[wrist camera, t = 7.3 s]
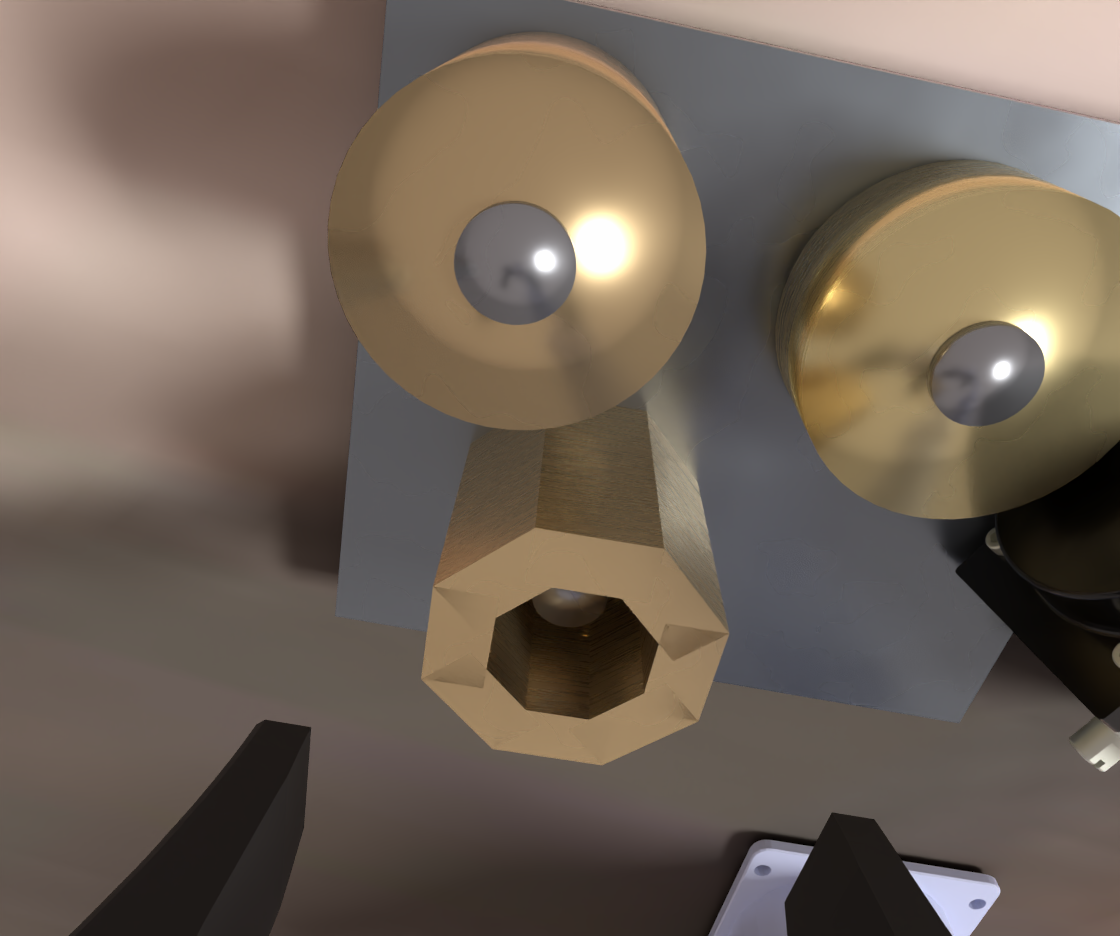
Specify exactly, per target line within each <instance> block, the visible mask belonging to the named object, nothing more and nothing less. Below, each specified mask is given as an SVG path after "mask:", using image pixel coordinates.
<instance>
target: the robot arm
mask: <svg viewBox="0 0 1120 936" xmlns="http://www.w3.org/2000/svg"><path fill="white" fill-rule="evenodd" d="M310 735H311V727H306V726H300V725H294V724H288V723H282V722H276V721H269V720H264V721H262V722H260V723H258V724H257V725H256V726H255V727H254V729H253V730H252V731H251V733H250V734H249V736H248V737H247V738H246V740H245V741H244V743H243V744H242V745H241V746H240V748H239V749H238V750H237V752H236V753H235V754H234V756H233V757H232V758H231V760H230V761H229V762H228V763H227V765H226V766H225V767H224V768H223V770H222V771H221V772H220V773H219V775H218V776H217V777H216V778H215V780H214V781H213V782H212V783H211V784H210V786H209V787H208V788H207V789H206V790H205V792H204V793H203V794H202V795H201V796H200V797H199V799H198V800H197V801H196V802H195V803H194V805H193V806H192V807H191V808H190V809H189V810H188V811H187V813H186V814H185V815H184V816H183V817H182V818H181V819H180V820H179V822H178V823H177V824H176V825H175V826H174V827H173V828H172V829H171V830H170V832H169V833H168V834H167V835H166V836H165V837H164V838H163V839H162V840H161V842H160V843H159V844H158V845H157V846H156V847H155V848H154V849H153V850H152V852H151V853H150V854H149V855H148V856H147V857H146V858H145V859H144V860H143V861H142V862H141V863H140V865H139V866H138V867H137V868H136V869H135V870H134V871H133V872H132V873H131V874H130V875H129V876H128V877H127V878H126V879H125V880H124V881H123V882H122V883H121V884H120V885H119V886H118V887H117V888H116V889H115V890H114V891H113V892H112V893H111V894H110V895H109V896H108V897H107V898H106V899H105V900H104V901H103V902H102V903H101V904H100V905H99V906H98V907H97V908H96V909H95V910H94V911H93V912H92V913H91V914H90V915H89V916H88V917H87V918H86V919H85V920H84V921H83V922H82V923H81V924H80V925H79V926H78V927H77V928H76V929H75V930H74V931H73V932H72V933H71V934H70V935H69V936H269V934H270V931H271V929H272V926H273V924H274V921H275V919H276V916H277V914H278V911H279V909H280V906H281V903H282V900H283V896H284V893H285V890H286V886H287V883H288V880H289V877H290V873H291V870H292V866H293V863H294V860H295V856H296V853H297V849H298V846H299V842H300V839H301V836H302V832H303V829H304V818H305V805H306V791H307V777H308V763H309V749H310ZM999 894H1000V888H999V886H998V884H997V882H996V879H995V878H993V877H992V876H990V875H987V874H982V873H975V872H969V871H963V870H957V869H950V868H944V867H938V866H932V865H925V864H919V863H913V862H906V861H902V860H901V858H900V857H899V855H898V854H897V852H896V851H895V849H894V848H893V846H892V845H891V843H890V842H889V840H888V839H887V837H886V836H885V834H884V833H883V831H882V830H881V829H880V827H879V826H878V824H877V823H876V821H875V820H874V819H869V818H862V817H856V816H850V815H844V814H838V813H831V815H830V817H829V819H828V821H827V823H826V825H825V827H824V829H823V830H822V832H821V834H820V836H819V838H818V840H817V842H816V844H815V845H814V847H813V846H806V845H800V844H794V843H788V842H781V841H775V840H760V841H757V842H755V843H754V844H753V845H752V846H751V847H750V849H749V851H748V853H747V855H746V857H745V859H744V861H743V864H742V866H741V868H740V870H739V872H738V874H737V876H736V878H735V880H734V882H733V885H732V887H731V889H730V891H729V893H728V895H727V897H726V899H725V901H724V904H723V906H722V908H721V910H720V912H719V914H718V916H717V918H716V920H715V922H714V925H713V927H712V929H711V931H710V933H709V935H708V936H970V934H971V933H972V932H973V930H974V929H975V928H976V926H977V925H978V923H979V922H980V921H981V919H982V918H983V917H984V915H985V914H986V912H987V911H988V910H989V908H990V907H991V906H992V904H993V903H994V902H995V900H996V899H997V897H998V896H999Z"/></svg>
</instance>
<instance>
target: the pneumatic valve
mask: <svg viewBox="0 0 1120 936" xmlns="http://www.w3.org/2000/svg"><path fill="white" fill-rule="evenodd" d="M955 572H956V574H957V575H958V576H959V577H960V578H961V579H962V580H963V581H964V582H965V583H966V584H967V585H968V586H969V587H970V588H971V589H972V590H973V591H974V592H975V593H976V594H977V595H978V596H979V597H980V598H981V599H982V600H983V602H984V603H985V604H986V605H987V606H988V607H989V608H990V609H991V610H992V611H993V612H994V613H995V614H996V615H997V616H998V617H999V618H1000V619H1001V620H1002V621H1003V622H1004V623H1005V624H1006V625H1007V626H1008V627H1009V628H1010V629H1011V630H1012V631H1013V632H1014V633H1015V634H1016V635H1017V636H1018V637H1019V638H1020V639H1021V640H1022V641H1023V643H1024V644H1025V645H1026V646H1027V647H1028V648H1029V649H1030V650H1031V651H1032V652H1033V653H1034V654H1035V655H1036V656H1037V657H1038V658H1039V659H1040V660H1041V661H1042V662H1043V663H1044V664H1045V665H1046V666H1047V667H1048V668H1049V669H1050V670H1051V671H1052V672H1053V673H1054V674H1055V675H1056V676H1057V677H1058V678H1059V679H1060V680H1061V681H1062V682H1063V684H1064V685H1065V686H1066V687H1067V688H1068V689H1069V690H1070V691H1071V692H1072V693H1073V694H1074V695H1075V696H1076V697H1077V698H1078V699H1079V700H1080V701H1081V702H1082V703H1083V704H1084V705H1085V706H1086V707H1087V708H1088V709H1089V710H1090V711H1091V712H1092V713H1093V714H1094V715H1095V717H1094V718H1092V719H1091V721H1089V722H1088V723H1087V724H1086V725H1084V726H1083V727H1082V728H1081V729H1079V730H1078V731H1077V732H1076V733H1074V734H1073V735H1072V736H1071V737H1069V742H1070V744H1071V745H1072V746H1073V747H1074V748H1075V749H1076V751H1077V752H1078V753H1079V754H1080V755H1081V756H1082V757H1083V758H1084V759H1085V760H1086V761H1088V762H1089V763H1090V764H1093V765H1094V766H1095V767H1096V768H1097V769H1098V770H1100V771H1103V772H1105V771H1106V770H1107V769H1109V768H1110V767H1111V766H1113V765H1114V764H1115V763H1117V762H1118V761H1119V760H1120V440H1119V441H1118V443H1116V444H1115V445H1114V446H1113V447H1112V448H1111V449H1110V450H1109V451H1108V452H1107V453H1106V454H1105V455H1104V456H1103V457H1102V458H1101V459H1100V460H1099V461H1097V462H1096V463H1095V464H1094V465H1092V466H1091V467H1090V468H1088V469H1087V470H1086V471H1085V472H1083V473H1082V474H1081V475H1079V476H1078V477H1076V478H1075V479H1073V480H1071V481H1070V482H1068V483H1067V484H1065V485H1064V486H1062V487H1060V488H1058V489H1057V490H1055V491H1053V492H1051V493H1049V494H1047V495H1045V496H1043V497H1041V498H1039V499H1036V500H1034V501H1031V502H1029V503H1027V504H1024V505H1022V506H1019V507H1016V508H1012V509H1009V510H1006V511H1002V512H999V513H995V528H993V529H991V530H990V531H989V532H988V534H987V536H986V539H985V543H984V544H983V545H982V546H981V547H979V548H978V549H977V550H976V551H975V552H974V553H973V554H972V555H971V556H969V557H968V558H967V559H966V560H965V561H964V562H963V563H962V564H961V565H959V566H958V567H957V568H956V570H955Z"/></svg>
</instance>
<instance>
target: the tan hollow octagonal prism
mask: <svg viewBox="0 0 1120 936" xmlns="http://www.w3.org/2000/svg"><path fill="white" fill-rule="evenodd" d="M550 588H558V589H564V590H571V591H577V592H583V593H589V594H595V595H602V596H607V604H606V607H605V609H604V611H603V612H602V614H601V615H600V616H599V617H598V618H597V619H595V620H594V621H592V622H591V623H588V624H586V625H583V626H579V627H562V626H558V625H555V624H552V623H550V622H548V621H547V620H545V619H544V618H542V617H541V616H540V615H539V614H538V612H537V611H536V609H535V607H534V605H533V601H532V598H534V597H535V596H537V595H539V594H541V593H543V592H545V591H546V590H548V589H550ZM728 636H729V629H728V624H727V620H726V615H725V610H724V605H723V600H722V596H721V591H720V586H719V581H718V577H717V572H716V567H715V562H714V558H713V553H712V548H711V543H710V539H709V534H708V529H707V524H706V519H705V515H704V510H703V505H702V500H701V496H700V491H699V486H698V482H697V480H696V479H695V478H694V476H693V475H692V473H691V472H690V471H689V469H688V468H687V466H686V465H685V464H684V462H683V461H682V460H681V458H680V457H679V455H678V454H677V453H676V451H675V450H674V448H673V447H672V446H671V444H670V443H669V441H668V440H667V439H666V437H665V436H664V434H663V433H662V432H661V430H660V429H659V427H658V426H657V425H656V423H655V422H654V420H653V419H652V418H651V416H650V415H649V413H648V412H647V411H643V410H637V409H632V408H626V407H620V406H614V407H612V408H610V409H608V410H606V411H604V412H602V413H600V414H598V415H596V416H594V417H591V418H588V419H585V420H582V421H580V422H577V423H573V424H569V425H564V426H560V427H556V428H548V429H538V430H507V429H499V428H494V429H493V430H491V431H490V432H488V433H487V434H485V435H483V436H482V437H480V438H479V439H477V440H475V441H474V442H472V443H471V444H470V447H469V451H468V455H467V459H466V463H465V466H464V470H463V474H462V478H461V482H460V485H459V489H458V493H457V497H456V501H455V505H454V508H453V512H452V516H451V520H450V524H449V527H448V531H447V535H446V539H445V543H444V546H443V550H442V554H441V558H440V562H439V565H438V569H437V573H436V577H435V581H434V584H433V590H432V598H431V606H430V614H429V622H428V630H427V638H426V645H425V653H424V661H423V669H422V677H421V679H422V680H423V681H424V682H425V683H426V684H427V685H428V686H429V687H430V688H431V689H432V690H433V691H434V692H435V693H436V694H437V695H438V696H439V697H440V698H441V699H442V700H443V701H444V702H445V703H446V704H447V705H448V706H449V707H450V708H451V709H452V710H453V711H454V712H455V713H456V714H457V715H458V716H459V717H460V718H461V719H463V720H464V721H465V722H466V723H467V724H468V725H469V726H470V727H471V728H472V729H473V730H474V731H475V732H476V733H477V734H478V735H479V736H480V737H481V738H482V739H483V740H484V741H485V742H486V743H487V744H488V745H489V746H490V747H491V748H492V749H497V750H503V751H510V752H517V753H524V754H530V755H537V756H544V757H550V758H557V759H564V760H571V761H577V762H584V763H591V764H597V765H604V764H606V763H608V762H610V761H612V760H615V759H617V758H619V757H621V756H623V755H626V754H628V753H630V752H632V751H634V750H637V749H639V748H641V747H643V746H645V745H647V744H650V743H652V742H654V741H656V740H658V739H661V738H663V737H665V736H667V735H669V734H672V733H674V732H676V731H678V730H680V729H683V728H685V727H687V726H689V725H691V724H694V723H696V722H698V721H699V718H700V715H701V712H702V710H703V707H704V704H705V701H706V698H707V695H708V693H709V690H710V687H711V684H712V681H713V679H714V676H715V673H716V670H717V667H718V665H719V662H720V659H721V656H722V653H723V650H724V648H725V645H726V642H727V639H728Z"/></svg>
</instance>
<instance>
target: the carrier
mask: <svg viewBox="0 0 1120 936" xmlns="http://www.w3.org/2000/svg"><path fill="white" fill-rule="evenodd" d="M328 253H329V260H330V267H331V274H332V278H333V281H334V285H335V289H336V292H337V296H338V299H339V301H340V304H341V306H342V309H343V311H344V313H345V316H346V318H347V320H348V322H349V324H350V326H351V327H352V329H353V331H354V333H355V335H356V336H357V338H358V350H357V362H356V374H355V386H354V398H353V410H352V422H351V433H350V445H349V457H348V469H347V481H346V493H345V505H344V517H343V529H342V541H341V553H340V565H339V577H338V589H337V601H336V613H335V616H338V617H344V618H349V619H355V620H361V621H367V622H373V623H379V624H384V625H390V626H396V627H402V628H408V629H413V630H419V631H425V632H427V630H428V622H429V614H430V606H431V598H432V590H433V584H434V581H435V577H436V573H437V569H438V565H439V562H440V558H441V554H442V550H443V546H444V543H445V539H446V535H447V531H448V527H449V524H450V520H451V516H452V512H453V508H454V505H455V501H456V497H457V493H458V489H459V485H460V482H461V478H462V474H463V470H464V466H465V463H466V459H467V455H468V451H469V447H470V444H471V443H472V442H474V441H475V440H477V439H479V438H480V437H482V436H483V435H485V434H487V433H488V432H490V431H491V430H493V429H494V428H499V429H507V430H538V429H548V428H556V427H560V426H564V425H569V424H573V423H577V422H580V421H582V420H585V419H588V418H591V417H594V416H596V415H598V414H600V413H602V412H604V411H606V410H608V409H610V408H612V407H614V406H620V407H626V408H632V409H637V410H643V411H647V412H648V413H649V415H650V416H651V418H652V419H653V420H654V422H655V423H656V425H657V426H658V427H659V429H660V430H661V432H662V433H663V434H664V436H665V437H666V439H667V440H668V441H669V443H670V444H671V446H672V447H673V448H674V450H675V451H676V453H677V454H678V455H679V457H680V458H681V460H682V461H683V462H684V464H685V465H686V466H687V468H688V469H689V471H690V472H691V473H692V475H693V476H694V478H695V479H696V480H697V482H698V486H699V491H700V496H701V500H702V505H703V510H704V515H705V519H706V524H707V529H708V534H709V539H710V543H711V548H712V553H713V558H714V562H715V567H716V572H717V577H718V581H719V586H720V591H721V596H722V600H723V605H724V610H725V615H726V620H727V624H728V629H729V636H728V639H727V642H726V645H725V648H724V650H723V653H722V656H721V659H720V662H719V665H718V667H717V670H716V673H715V676H714V679H713V681H716V682H722V683H728V684H734V685H739V686H745V687H751V688H757V689H763V690H769V691H774V692H780V693H786V694H792V695H798V696H803V697H809V698H815V699H821V700H827V701H833V702H838V703H844V704H850V705H856V706H862V707H867V708H873V709H879V710H885V711H891V712H897V713H902V714H908V715H914V716H920V717H926V718H931V719H937V720H943V721H949V722H955V723H959V722H960V721H961V719H962V717H963V716H964V714H965V712H966V711H967V709H968V707H969V705H970V704H971V702H972V700H973V699H974V697H975V695H976V694H977V692H978V690H979V689H980V687H981V685H982V684H983V682H984V680H985V679H986V677H987V675H988V674H989V672H990V670H991V669H992V667H993V665H994V664H995V662H996V660H997V659H998V657H999V655H1000V653H1001V652H1002V650H1003V648H1004V647H1005V645H1006V643H1007V642H1008V640H1009V638H1010V637H1011V635H1012V633H1013V631H1012V630H1011V629H1010V628H1009V627H1008V626H1007V625H1006V624H1005V623H1004V622H1003V621H1002V620H1001V619H1000V618H999V617H998V616H997V615H996V614H995V613H994V612H993V611H992V610H991V609H990V608H989V607H988V606H987V605H986V604H985V603H984V602H983V600H982V599H981V598H980V597H979V596H978V595H977V594H976V593H975V592H974V591H973V590H972V589H971V588H970V587H969V586H968V585H967V584H966V583H965V582H964V581H963V580H962V579H961V578H960V577H959V576H958V575H957V574H956V572H955V570H956V568H957V567H958V566H959V565H961V564H962V563H963V562H964V561H965V560H966V559H967V558H968V557H969V556H971V555H972V554H973V553H974V552H975V551H976V550H977V549H978V548H979V547H981V546H982V545H983V544H984V543H985V539H986V536H987V534H988V532H989V531H990V530H991V529H993V528H995V513H999V512H1002V511H1006V510H1009V509H1012V508H1016V507H1019V506H1022V505H1024V504H1027V503H1029V502H1031V501H1034V500H1036V499H1039V498H1041V497H1043V496H1045V495H1047V494H1049V493H1051V492H1053V491H1055V490H1057V489H1058V488H1060V487H1062V486H1064V485H1065V484H1067V483H1068V482H1070V481H1071V480H1073V479H1075V478H1076V477H1078V476H1079V475H1081V474H1082V473H1083V472H1085V471H1086V470H1087V469H1088V468H1090V467H1091V466H1092V465H1094V464H1095V463H1096V462H1097V461H1099V460H1100V459H1101V458H1102V457H1103V456H1104V455H1105V454H1106V453H1107V452H1108V451H1109V450H1110V449H1111V448H1112V447H1113V446H1114V445H1115V444H1116V443H1118V441H1119V440H1120V123H1119V122H1115V121H1110V120H1106V119H1101V118H1097V117H1092V116H1088V115H1083V114H1079V113H1074V112H1070V111H1065V110H1061V109H1057V108H1052V107H1048V106H1043V105H1039V104H1034V103H1030V102H1025V101H1021V100H1016V99H1012V98H1008V97H1003V96H999V95H994V94H990V93H985V92H981V91H976V90H972V89H967V88H963V87H958V86H954V85H950V84H945V83H941V82H936V81H932V80H927V79H923V78H918V77H914V76H909V75H905V74H901V73H896V72H892V71H887V70H883V69H878V68H874V67H869V66H865V65H860V64H856V63H851V62H847V61H843V60H838V59H834V58H829V57H825V56H820V55H816V54H811V53H807V52H802V51H798V50H793V49H789V48H785V47H780V46H776V45H771V44H767V43H762V42H758V41H753V40H749V39H744V38H740V37H736V36H731V35H727V34H722V33H718V32H713V31H709V30H704V29H700V28H695V27H691V26H686V25H682V24H678V23H673V22H669V21H664V20H660V19H655V18H651V17H646V16H642V15H637V14H633V13H629V12H624V11H620V10H615V9H611V8H606V7H602V6H597V5H593V4H588V3H584V2H579V1H575V0H387V3H386V15H385V27H384V39H383V51H382V63H381V75H380V87H379V99H378V110H377V111H376V112H375V113H374V114H373V116H372V117H371V118H370V119H369V120H368V122H367V123H366V124H365V125H364V127H363V128H362V129H361V130H360V132H359V134H358V135H357V137H356V139H355V140H354V142H353V144H352V145H351V147H350V148H349V150H348V152H347V154H346V157H345V159H344V161H343V164H342V166H341V168H340V171H339V173H338V175H337V179H336V183H335V186H334V190H333V194H332V198H331V203H330V211H329V219H328ZM532 601H533V605H534V607H535V609H536V611H537V612H538V614H539V615H540V616H541V617H542V618H544V619H545V620H547V621H548V622H550V623H552V624H555V625H558V626H562V627H579V626H583V625H586V624H588V623H591V622H592V621H594V620H595V619H597V618H598V617H599V616H600V615H601V614H602V612H603V611H604V609H605V607H606V604H607V596H602V595H595V594H589V593H583V592H577V591H571V590H564V589H558V588H550V589H548V590H546V591H545V592H543V593H541V594H539V595H537V596H535V597H534V598H532Z"/></svg>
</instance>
